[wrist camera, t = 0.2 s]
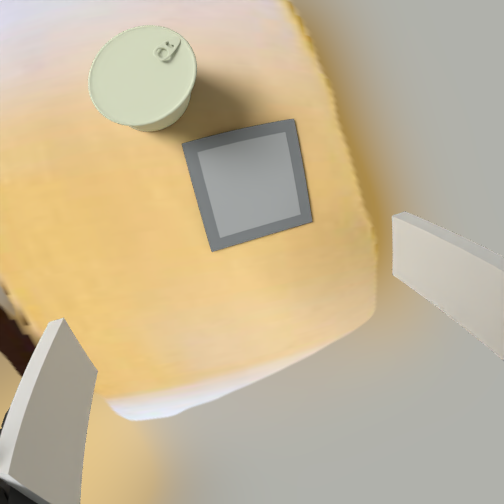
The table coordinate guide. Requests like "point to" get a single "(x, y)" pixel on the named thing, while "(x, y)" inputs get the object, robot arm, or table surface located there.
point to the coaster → (249, 182)
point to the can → (143, 78)
